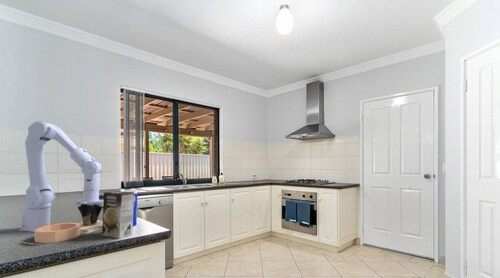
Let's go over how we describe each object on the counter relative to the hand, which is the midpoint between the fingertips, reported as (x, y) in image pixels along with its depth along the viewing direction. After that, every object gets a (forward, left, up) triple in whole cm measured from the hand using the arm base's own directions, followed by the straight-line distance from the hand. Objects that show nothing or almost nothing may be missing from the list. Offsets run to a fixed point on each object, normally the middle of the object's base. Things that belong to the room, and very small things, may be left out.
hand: (90, 222), depth 110 cm
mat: (0, 0, -2) cm, 2 cm away
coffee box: (+20, -6, -2) cm, 21 cm away
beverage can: (+15, +6, -2) cm, 16 cm away
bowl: (+2, -15, -2) cm, 15 cm away
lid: (0, 0, -2) cm, 2 cm away
